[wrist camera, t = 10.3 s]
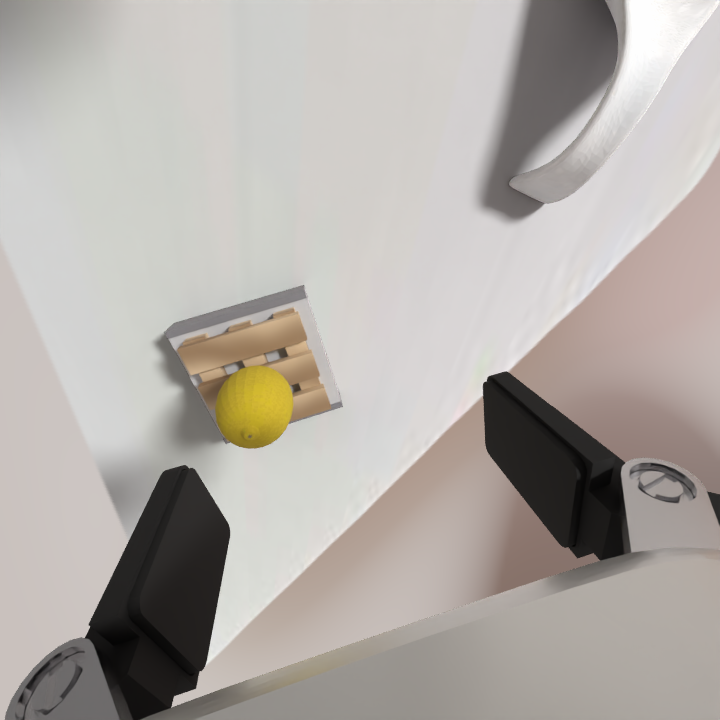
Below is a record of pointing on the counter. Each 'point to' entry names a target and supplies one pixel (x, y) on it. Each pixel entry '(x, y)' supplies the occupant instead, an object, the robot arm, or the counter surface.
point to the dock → (256, 313)
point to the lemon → (254, 406)
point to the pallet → (259, 359)
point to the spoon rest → (622, 90)
